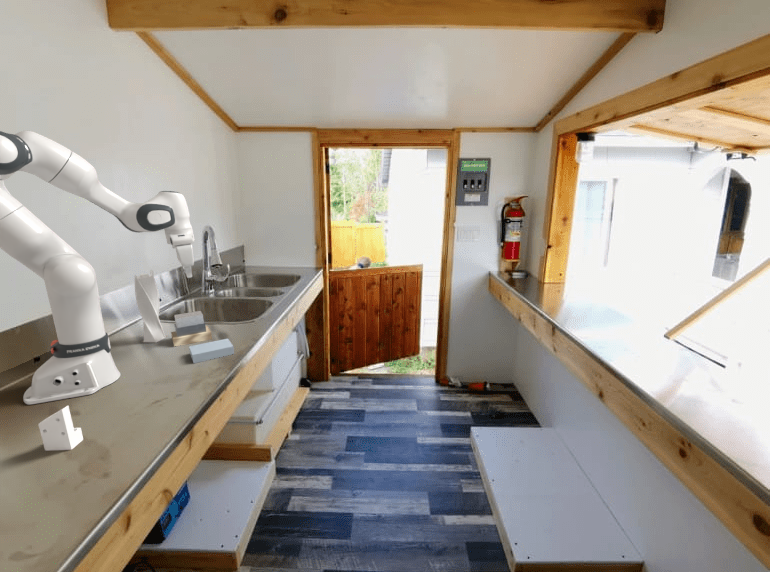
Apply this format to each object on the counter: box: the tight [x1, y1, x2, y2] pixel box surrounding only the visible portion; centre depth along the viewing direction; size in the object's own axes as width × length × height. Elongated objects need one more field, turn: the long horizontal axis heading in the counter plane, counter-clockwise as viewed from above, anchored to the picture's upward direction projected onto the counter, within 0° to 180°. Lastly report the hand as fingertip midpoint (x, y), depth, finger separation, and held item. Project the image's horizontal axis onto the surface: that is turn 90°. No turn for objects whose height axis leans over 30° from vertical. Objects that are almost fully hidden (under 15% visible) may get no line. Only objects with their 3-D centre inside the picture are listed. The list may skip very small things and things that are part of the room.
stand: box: [188, 338, 235, 364], centre depth 135 cm, size 13×9×3 cm
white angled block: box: [37, 405, 84, 451], centre depth 86 cm, size 4×10×9 cm
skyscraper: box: [134, 269, 169, 344], centre depth 146 cm, size 8×8×28 cm
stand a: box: [170, 325, 213, 348], centre depth 149 cm, size 13×9×3 cm
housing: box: [174, 310, 207, 337], centre depth 148 cm, size 10×6×7 cm, turn 123°
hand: (188, 275), depth 141 cm, fingers open, 8 cm apart
